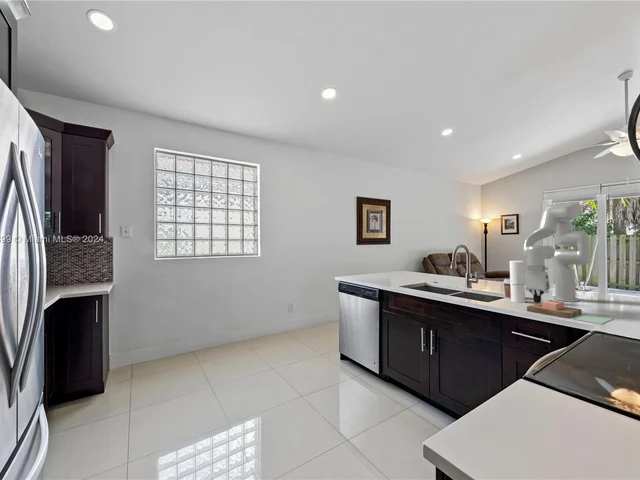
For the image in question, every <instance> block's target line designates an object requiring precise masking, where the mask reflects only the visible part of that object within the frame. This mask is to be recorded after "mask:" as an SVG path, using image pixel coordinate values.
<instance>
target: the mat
mask: <svg viewBox="0 0 640 480" xmlns="http://www.w3.org/2000/svg"><path fill="white" fill-rule="evenodd" d="M569 319H570V320H574V321H581V322H586V323H591V324H596V325H604V324H605V323H608V322H610V321H613V320H615V318H613V317H606V316H601V315H597V314H595V315H594V314H587V313H582V314H581V315H578V316H575V317H572V318H569Z"/></svg>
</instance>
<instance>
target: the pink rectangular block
mask: <svg viewBox="0 0 640 480" xmlns="http://www.w3.org/2000/svg"><path fill="white" fill-rule="evenodd" d="M541 303H542V308H546V309H552V310H558V309H562V308H564V307H565V301H559V300H555V299H549V300H545V301H541Z"/></svg>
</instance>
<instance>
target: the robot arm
mask: <svg viewBox="0 0 640 480" xmlns="http://www.w3.org/2000/svg"><path fill="white" fill-rule="evenodd" d="M582 210H583V208H582V206H581V204H580V203H579V202H565V203H556V204H550V205H546V206H545V207H544V209H543V210H542V212H541V213H540V214H541V215H540V220H539V222H538V227H537V229H536V230H535V231H533V232H532V233H531V234H530V235H528V237H526V239H525V240H524V245H523V249H522V254H523V256H524V258H526V260H527V270H526V272H525V275H524V287H525V291H527V292H530V293H531V294H532V297H533V302H534V303H535V304H538V303H542V295H544V294H547V293H550V288H551V285H550V278H549V274H548V271H547V270H549V268H548V267H546V265H545V264H546V261H545V260H549V259H551V260H552V263H553V268H554V269H553V271H554V290H555V291H554V293H555V295H554V296H552V298H551V299H552V300H554V301H561V302H579V301H580V299H579V297H577V293H576V276H575V275H576V272H575V270H574V268H573V267H572V266H571V265H574V266H575V265H576V266H587V265H588V264H589V263H590V261H591V251H590V249H591V248H590V237H589V235H588V233H587V232H586V231H584V230H572V222H571V221H573V220H575V219H577V218H578V217H579V216H580V215H581V213H582ZM552 236H553V241H554V245H555V246H557V247H562V248H558V249H555V248H554V247H553V246H552V245H535V243H537V242H538V241H540V240H543V239H547V238H550V237H552ZM565 247H566V248H565ZM571 247H572V248H571ZM573 247H574V248H573Z"/></svg>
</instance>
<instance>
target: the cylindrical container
mask: <svg viewBox="0 0 640 480" xmlns="http://www.w3.org/2000/svg"><path fill="white" fill-rule="evenodd" d="M524 265H525V263H524V261H523V260H509V279H510V286H511V299H510V301H511V302H512V303H520V304H521V303H526V295H525V294H526V292H525V291H526V287H525V268H524V267H525V266H524Z"/></svg>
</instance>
